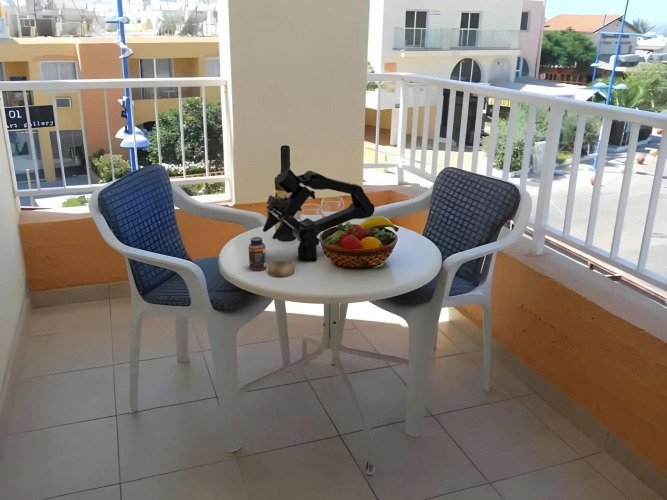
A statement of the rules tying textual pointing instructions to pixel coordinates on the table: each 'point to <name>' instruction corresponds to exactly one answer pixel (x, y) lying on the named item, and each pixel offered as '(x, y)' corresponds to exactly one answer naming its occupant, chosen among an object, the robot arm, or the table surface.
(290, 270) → the walnut stand
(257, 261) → the supplement bottle
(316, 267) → the table surface
